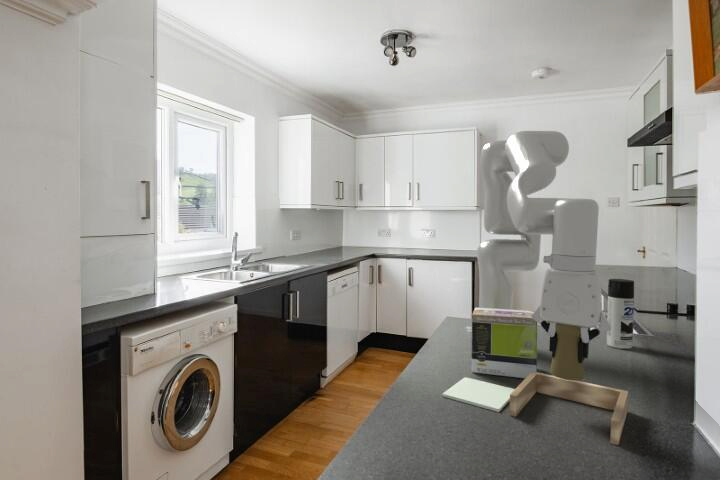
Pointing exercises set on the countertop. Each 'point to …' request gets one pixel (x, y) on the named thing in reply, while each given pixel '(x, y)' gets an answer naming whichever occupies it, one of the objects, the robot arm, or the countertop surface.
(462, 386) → the mat
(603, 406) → the wooden u-shaped frame
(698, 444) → the countertop surface
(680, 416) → the countertop surface
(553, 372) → the cork
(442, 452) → the countertop surface
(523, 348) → the tea box
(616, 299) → the spray can
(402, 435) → the countertop surface
